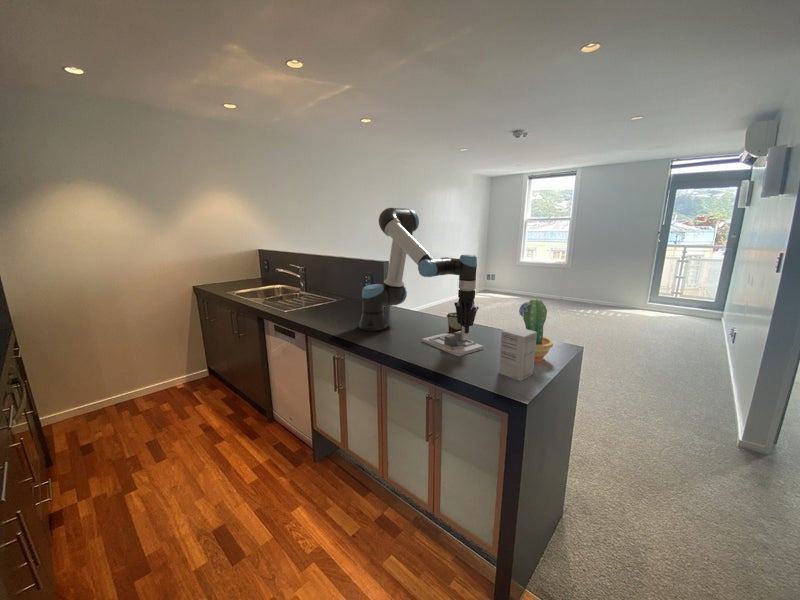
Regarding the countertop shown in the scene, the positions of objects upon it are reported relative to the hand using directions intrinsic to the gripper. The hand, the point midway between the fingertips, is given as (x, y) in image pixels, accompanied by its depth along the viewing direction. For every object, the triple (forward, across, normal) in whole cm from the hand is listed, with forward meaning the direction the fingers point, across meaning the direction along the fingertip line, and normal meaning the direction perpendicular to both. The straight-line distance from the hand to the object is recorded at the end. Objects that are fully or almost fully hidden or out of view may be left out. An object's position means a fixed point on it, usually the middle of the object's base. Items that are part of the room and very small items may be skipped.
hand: (464, 339), depth 155 cm
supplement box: (+3, +33, -7) cm, 34 cm away
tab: (+2, -1, -8) cm, 8 cm away
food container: (+4, -17, +14) cm, 22 cm away
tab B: (+2, -3, 0) cm, 3 cm away
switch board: (+3, -4, -4) cm, 7 cm away
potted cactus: (+3, +27, +13) cm, 30 cm away
